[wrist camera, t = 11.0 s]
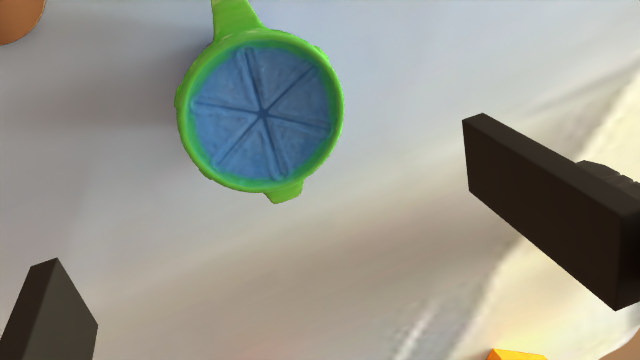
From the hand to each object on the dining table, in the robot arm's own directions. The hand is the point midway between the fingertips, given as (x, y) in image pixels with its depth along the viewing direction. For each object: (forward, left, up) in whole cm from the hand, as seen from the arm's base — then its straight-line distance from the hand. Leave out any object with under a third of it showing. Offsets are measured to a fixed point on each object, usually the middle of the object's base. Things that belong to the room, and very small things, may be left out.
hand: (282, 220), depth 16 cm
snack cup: (-2, +2, -26) cm, 26 cm away
